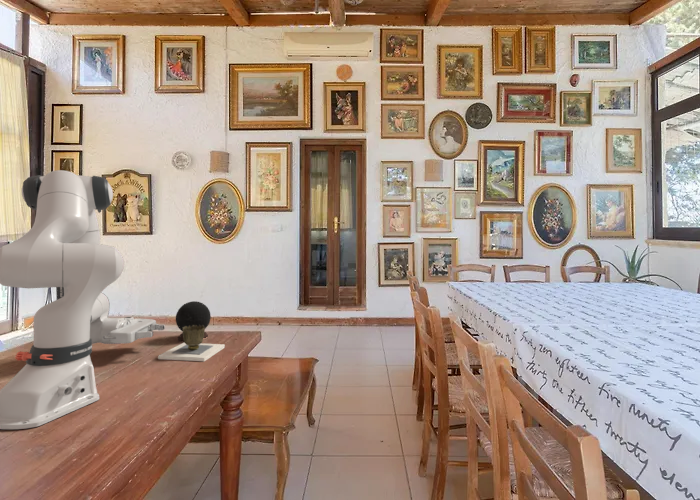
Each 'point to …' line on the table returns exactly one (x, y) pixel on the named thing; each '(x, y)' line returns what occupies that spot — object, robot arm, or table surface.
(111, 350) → the table surface
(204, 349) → the tile plinth
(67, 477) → the table surface
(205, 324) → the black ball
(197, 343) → the cup
